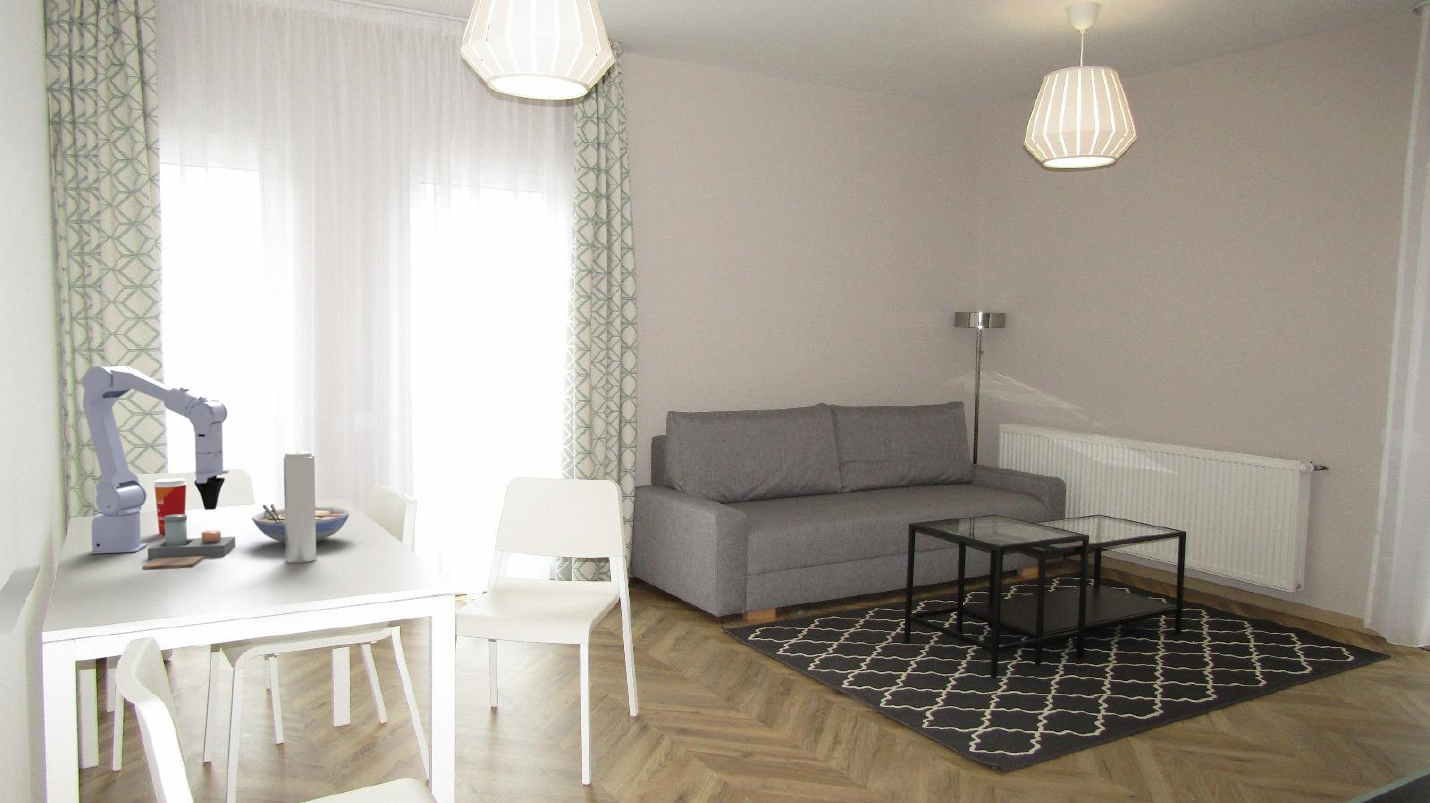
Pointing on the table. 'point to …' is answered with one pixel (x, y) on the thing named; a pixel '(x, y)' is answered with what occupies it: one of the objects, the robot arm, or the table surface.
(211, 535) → the plunger
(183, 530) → the cylinder
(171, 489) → the paper cup
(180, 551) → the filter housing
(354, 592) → the table surface
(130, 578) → the table surface
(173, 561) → the walnut pad
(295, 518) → the air filter
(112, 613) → the table surface
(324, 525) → the ramen bowl
